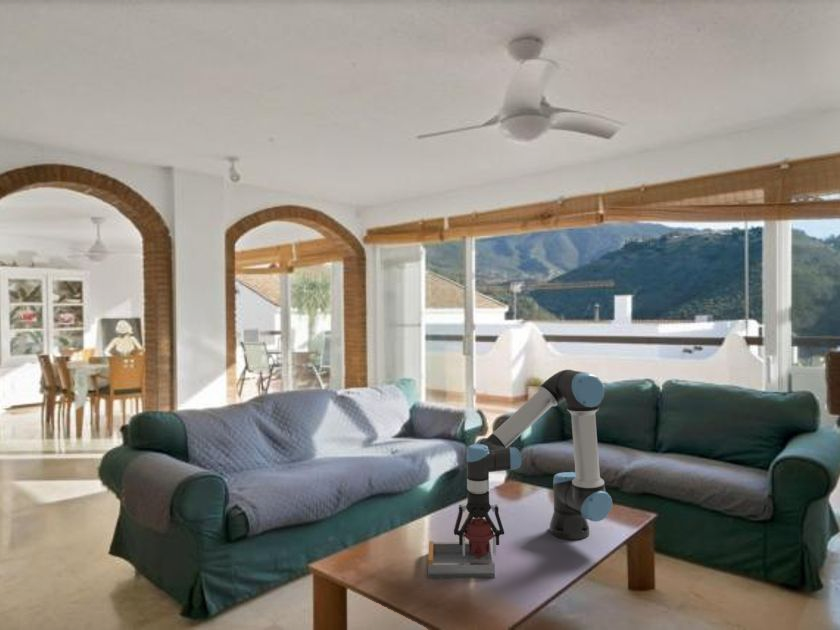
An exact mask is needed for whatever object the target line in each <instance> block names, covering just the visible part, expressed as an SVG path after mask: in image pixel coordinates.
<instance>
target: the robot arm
mask: <svg viewBox="0 0 840 630" xmlns="http://www.w3.org/2000/svg"><path fill="white" fill-rule="evenodd" d="M604 396H605V386H604V384H603V382H602V380H601V379H600V378H599V377H598V376H596V375H595V374H591V372H586V371H578V370H574V369H564V370H559V371H558V372H555V373H554V374H553V375H551V376H550V377H549V378H547V379H546V380H545V381H544V382H543V383H542V384H541V385H539V386H538V387H537V392H536V393H535V394H533V396H531V398H529V399H528V400H527V401H525V402H524V404H522V406H521V407H520V408H518V409H517V410H516V411H515V412H514V413H513V414H511V416H510V417H508V418H507V419H506V420H505V421H504V422H502V424H501V425H500V426H499V427H497V429H495V431H493V432H492V433H491V434H490V435H489V436H488V437H482V438H480V439H478V440H477V441H475V444H470V445H469V446H467V448H466V457H465V460H466V489H467V491H466V492H467V495H466V496H467V501H466V502H467V503H466V505H462V504H459V505H458V513H457V517H456V521H455V525H454V529H453V535H455V536H458V542H459V544H460V545H463V556H465V542H466V541H465V540H466V539H465V538H466V537H465V534H464V532H465V530H466V529H467V524H469V523H470V522H471V520H472V519H474V518H483V519H486V520H487V522H488V523H489V524H491V529H492V530H493V535H494V536H493V538H492V542H493V543H492V545H493V546H492V547H493V550H492V551H493V556H494V557H496V556H497V546H499V545H500V536H501V535H505V531H504V527H503V524H502V520H501V517H500V514H499V512H500V511H499V506H498V504H493V505H492V504H491V503H490V491H489V490H490V480H489V479H490V473H493V472H502V471H503V472H504V471H513V470H517V469H519V468H520V467H521V465H522V455H521V452H520V450H519V449H518V448H517V447H510V446H511V445H512V443H514V442H515V441H516V440H517V439H518V438H519V437H520V436H521V435H522V434H524V432H526V431H527V430H528V429H529V428H530V427H532V425H533V424H535V423H536V421H538V420H539V418H541V417H543V415H544V414H545V413H547V411H549V410H550V409H551V407H557V406H558V405H560V403H561V402H564V401H565V407H566V411H567V412H569V414H570V416H571V417H570V419H571V429H572V442H573V444H572V445H573V456H574V458H573V459H574V469H575V470H574V471H570V472H568V471H567V472H565V471H564V472H559V473H556V474H554V476H553V483H552V485H553V487H552V488H553V513H552V516H551V519H550V522H549V532H550V534H551V535H552V536H555V537H556V538H560V539H564V540H572V541H573V540H582V539H583V540H584V539H586V538H587V537H589V536H590V527H589V522H588V521H587V520H589V521H591V522H600V521H603V520H604V519H606V518H607V517H608V515H609V514H611V511H612V508H613V499H612V497H611V495H610V494H609V493H608V492H607V491H606V486H605V480H604V479H603V478H601V473H600V463H599V462H600V461H599V446H598V436H597V435H598V434H597V433H598V432H597V419H596V417H597V416H596V412H598V411H599V409H600V404H601V403H602V400H603V399H604ZM466 510H467V512H468V515H467V517H466V519H465V520H464V522H463V524H462V526H461V523H462V518H463V514H464V513H465V511H466ZM490 511H492V513H494V515H495V519H496V521H497V525H498V528H499V529H498V528H497V527H496V525H495V524H494V522H493V520H492V518H491V517H490V515H489V512H490ZM460 526H461V527H460Z"/></svg>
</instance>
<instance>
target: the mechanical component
mask: <svg viewBox="0 0 840 630" xmlns="http://www.w3.org/2000/svg"><path fill="white" fill-rule="evenodd" d="M464 534H465V538H466V540H468V542H469V551H470V552H471V553H473V554H474V555H475V556H476V558H477V559H481V557H482V556H484V555H486V554H488V552H489V542H490V541H491V540H493V536H494V535H493V534H494V532H493V530H492V528H491V524H489V523H488V522H487V520H486V519H485V518H484V517H483V518H474V517H473V519H472V520H471V522H470V523H469V524H467V529H466V530H465V532H464Z"/></svg>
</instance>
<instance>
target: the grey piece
mask: <svg viewBox="0 0 840 630" xmlns="http://www.w3.org/2000/svg"><path fill="white" fill-rule="evenodd" d="M428 542H429V543H428V555H427V556H428V557H427V564H428V566H427V570H428V571H427V572H428V573H427V576H428V577H427V579H495V578H496V574H495V573H496V569H495V568H496V567H495V566H496V564H495V562H493V557H492V553H491V552H492V551H491V541H489V552H488V554H486V555H484V556H482V557H481V559H477V558H476V556H475V555H474V554H473V553H471V552H470V551H469V541H465V556H463V545H460V544H459V541H447V542H446V541H433V540H430V541H428Z"/></svg>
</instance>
